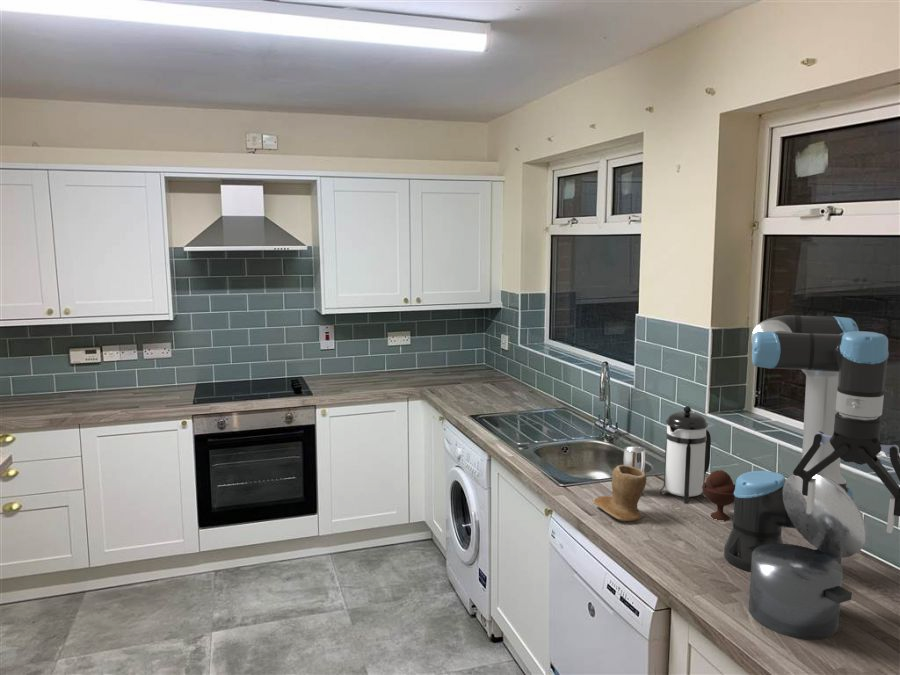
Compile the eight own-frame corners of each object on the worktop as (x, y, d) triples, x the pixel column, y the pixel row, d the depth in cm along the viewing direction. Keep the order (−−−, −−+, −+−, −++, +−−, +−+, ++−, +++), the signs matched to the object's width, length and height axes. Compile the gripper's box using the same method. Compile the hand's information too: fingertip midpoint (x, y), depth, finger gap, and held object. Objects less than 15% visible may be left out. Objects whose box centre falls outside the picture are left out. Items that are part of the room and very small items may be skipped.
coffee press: (713, 506, 216) (718, 413, 211) (660, 501, 220) (663, 410, 215) (708, 487, 232) (712, 400, 228) (659, 482, 236) (662, 398, 232)
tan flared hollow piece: (652, 520, 205) (654, 472, 203) (618, 526, 201) (620, 477, 199) (624, 502, 219) (625, 457, 217) (591, 507, 216) (593, 461, 213)
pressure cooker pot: (783, 581, 169) (787, 531, 167) (876, 633, 147) (882, 576, 145) (721, 598, 161) (724, 546, 159) (809, 655, 139) (814, 595, 137)
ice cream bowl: (743, 525, 201) (746, 476, 199) (704, 523, 203) (706, 475, 201) (734, 511, 212) (737, 464, 209) (697, 509, 213) (699, 463, 211)
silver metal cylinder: (630, 487, 232) (632, 444, 230) (648, 493, 227) (649, 449, 225) (618, 492, 228) (619, 448, 226) (635, 498, 223) (637, 453, 220)
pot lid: (788, 535, 164) (796, 530, 165) (866, 573, 146) (875, 567, 147) (777, 461, 159) (786, 456, 160) (857, 490, 141) (866, 484, 142)
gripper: (781, 408, 134) (774, 510, 137) (936, 431, 118) (924, 546, 121) (791, 399, 139) (784, 498, 143) (941, 421, 123) (929, 531, 127)
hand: (848, 520), depth 132 cm, fingers open, 13 cm apart
